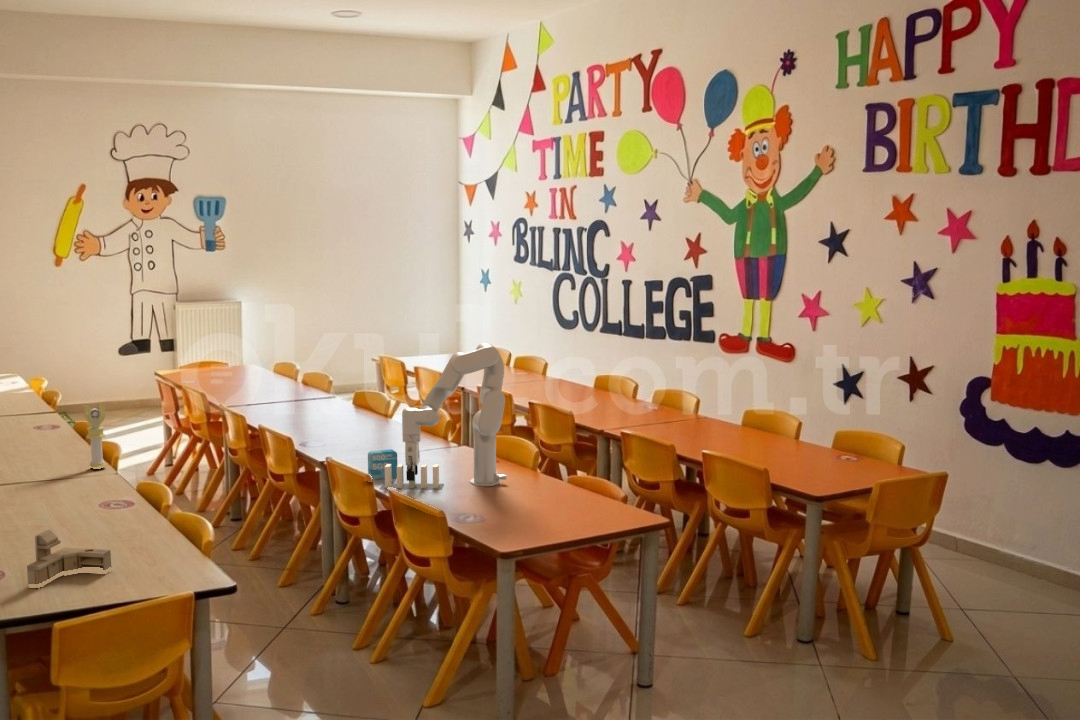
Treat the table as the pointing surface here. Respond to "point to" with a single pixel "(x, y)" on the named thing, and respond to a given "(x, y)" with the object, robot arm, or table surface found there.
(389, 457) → the data package
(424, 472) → the domino
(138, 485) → the table surface
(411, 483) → the domino
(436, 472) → the domino
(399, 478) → the domino
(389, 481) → the domino
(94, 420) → the trophy
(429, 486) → the domino mat
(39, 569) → the toy kitchen set
